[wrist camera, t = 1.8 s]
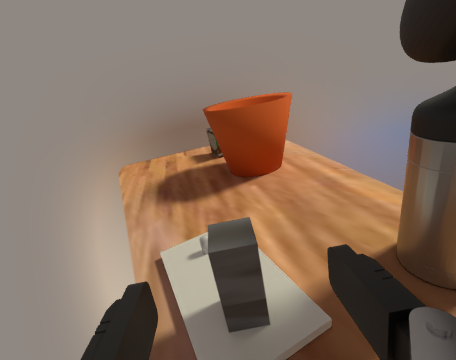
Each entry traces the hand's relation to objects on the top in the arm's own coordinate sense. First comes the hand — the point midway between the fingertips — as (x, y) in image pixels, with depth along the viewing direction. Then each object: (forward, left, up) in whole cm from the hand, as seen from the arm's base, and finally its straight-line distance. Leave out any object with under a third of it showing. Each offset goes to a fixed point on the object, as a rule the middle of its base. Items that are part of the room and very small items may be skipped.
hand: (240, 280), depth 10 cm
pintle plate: (-13, -12, -18) cm, 25 cm away
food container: (-68, -48, -18) cm, 85 cm away
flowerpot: (-56, -28, -18) cm, 65 cm away
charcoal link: (-10, -7, -17) cm, 21 cm away
